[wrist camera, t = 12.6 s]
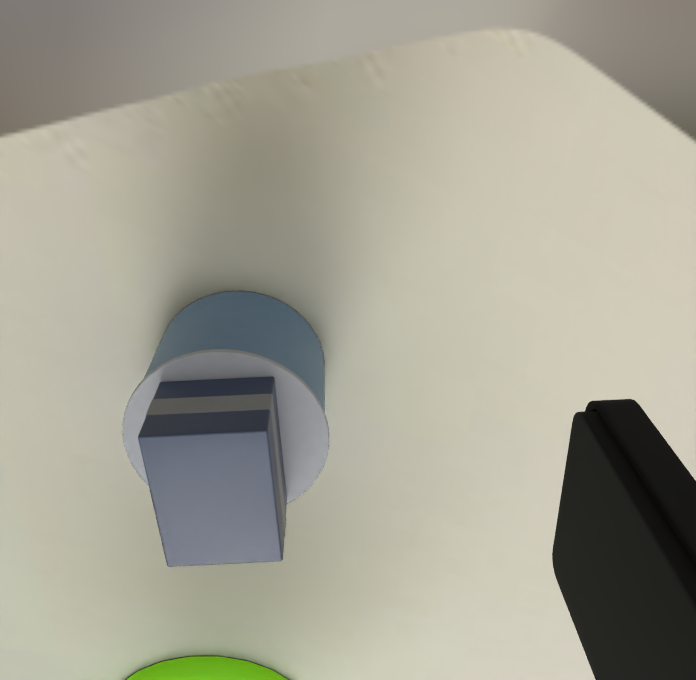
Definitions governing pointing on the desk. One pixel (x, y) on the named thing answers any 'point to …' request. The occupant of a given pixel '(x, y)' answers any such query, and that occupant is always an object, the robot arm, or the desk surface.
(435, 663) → the desk surface
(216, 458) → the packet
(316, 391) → the yogurt
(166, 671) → the wineglass
